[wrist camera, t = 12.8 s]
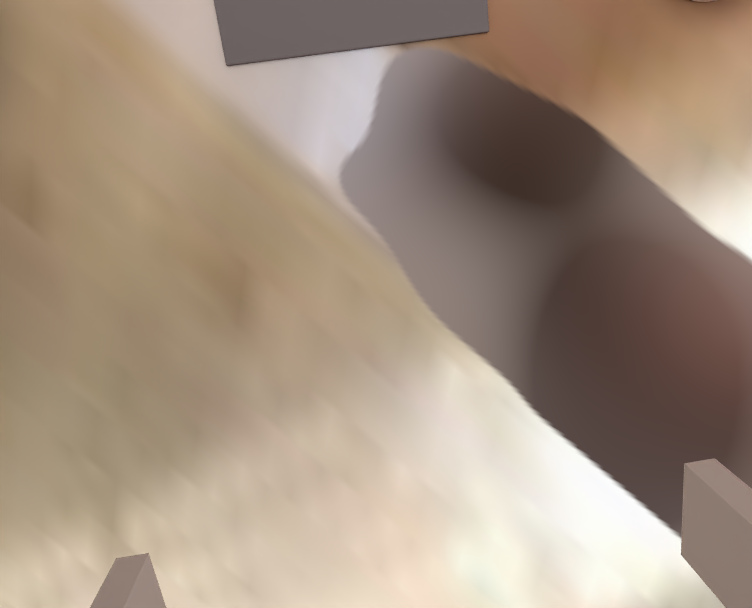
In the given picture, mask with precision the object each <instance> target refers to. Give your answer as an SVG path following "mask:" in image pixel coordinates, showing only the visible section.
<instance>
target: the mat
mask: <svg viewBox="0 0 752 608" xmlns="http://www.w3.org/2000/svg"><path fill="white" fill-rule="evenodd" d="M214 4H215V9H216V14H217V19H218V24H219V30H220V35H221V40H222V45H223V50H224V55H225V60H226V65H227V66H232V65H239V64H247V63H255V62H263V61H270V60H278V59H286V58H294V57H301V56H309V55H317V54H325V53H332V52H340V51H348V50H356V49H363V48H371V47H379V46H387V45H394V44H402V43H410V42H417V41H425V40H433V39H441V38H448V37H456V36H464V35H472V34H479V33H487V32H489V21H488V4H487V0H214Z"/></svg>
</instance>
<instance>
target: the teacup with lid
mask: <svg viewBox="0 0 752 608" xmlns="http://www.w3.org/2000/svg"><path fill="white" fill-rule="evenodd" d="M693 1H698V2H710V1H716V0H693Z"/></svg>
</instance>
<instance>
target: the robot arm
mask: <svg viewBox="0 0 752 608" xmlns="http://www.w3.org/2000/svg"><path fill="white" fill-rule="evenodd" d="M681 555H682V556H683V558H684V559H685V560H686V561H687V562H688V563H689V565H690V566H691V567H692V568H693V569H694V571H695V572H696V573H697V574H698V575H699V576H700V578H701V579H702V580H703V581H704V582H705V584H706V585H707V586H708V587H709V588H710V589H711V591H712V592H713V593H714V594H715V595H716V597H717V598H718V599H719V600H720V601H721V602H722V604H723V605H724V606H725V607H726V608H752V489H751V488H750V487H749V486H747V485H746V484H745V483H743V482H742V481H741V480H740V479H739V478H738V477H736V476H735V475H734V474H733V473H732V472H730V471H729V470H728V469H727V468H725V467H724V466H723V465H722V464H720V463H719V462H718V461H717V460H716V459H709V460H703V461H697V462H691V463H685V464H684V488H683V515H682V543H681ZM90 608H166V606H165V603H164V600H163V597H162V593H161V590H160V587H159V584H158V581H157V578H156V575H155V572H154V569H153V566H152V563H151V559H150V556H149V553H146V554H140V555H134V556H128V557H122V558H116V560H115V562H114V564H113V565H112V567H111V569H110V571H109V573H108V575H107V577H106V579H105V581H104V582H103V584H102V586H101V588H100V590H99V592H98V594H97V596H96V597H95V599H94V601H93V603H92V605H91V607H90Z"/></svg>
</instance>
